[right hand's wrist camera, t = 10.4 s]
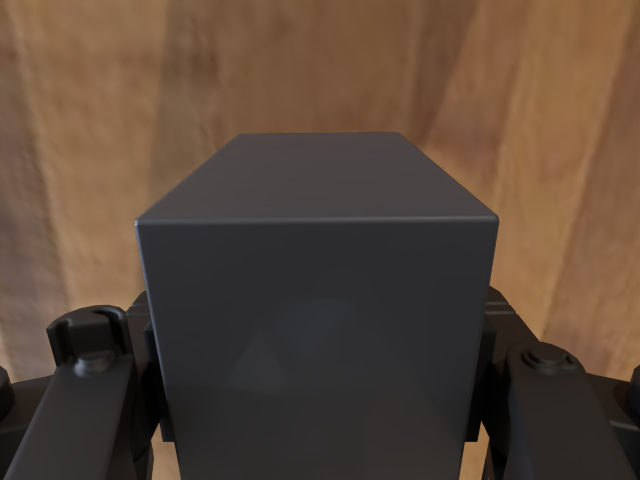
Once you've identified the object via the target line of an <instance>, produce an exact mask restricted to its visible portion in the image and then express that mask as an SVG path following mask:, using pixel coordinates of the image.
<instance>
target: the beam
mask: <svg viewBox="0 0 640 480" xmlns="http://www.w3.org/2000/svg"><path fill="white" fill-rule="evenodd" d="M498 226H499V218H498V216H497V215H496V214H495V213H494V212H493V211H491V210H490V209H489V208H488V207H487V206H485V205H484V204H483V203H482V202H481V201H479V200H478V199H477V198H476V197H475V196H474V195H472V194H471V193H470V192H469V191H468V190H466V189H465V188H464V187H463V186H462V185H460V184H459V183H458V182H457V181H456V180H455V179H453V178H452V177H451V176H450V175H449V174H447V173H446V172H445V171H444V170H443V169H441V168H440V167H439V166H438V165H437V164H436V163H434V162H433V161H432V160H431V159H430V158H428V157H427V156H426V155H425V154H424V153H422V152H421V151H420V150H419V149H418V148H417V147H415V146H414V145H413V144H412V143H411V142H409V141H408V140H407V139H406V138H405V137H403V136H402V135H401V134H400V133H398V132H366V133H270V134H238V135H237V136H236V137H234V138H233V139H232V140H231V141H230V142H228V143H227V144H226V145H225V146H224V147H222V148H221V149H220V150H219V151H217V152H216V153H215V154H214V155H213V156H211V157H210V158H209V159H208V160H207V161H205V162H204V163H203V164H202V165H201V166H199V167H198V168H197V169H196V170H195V171H193V172H192V173H191V174H190V175H189V176H187V177H186V178H185V179H184V180H183V181H181V182H180V183H179V184H178V185H176V186H175V187H174V188H173V189H172V190H170V191H169V192H168V193H167V194H166V195H164V196H163V197H162V198H161V199H160V200H158V201H157V202H156V203H155V204H154V205H152V206H151V207H150V208H149V209H148V210H146V211H145V212H144V213H143V214H141V215H140V216H139V217H138V218H137V219H136V220H135V224H134V227H135V232H136V238H137V243H138V248H139V254H140V259H141V265H142V270H143V275H144V281H145V286H146V292H147V297H148V302H149V308H150V313H151V319H152V324H153V330H154V335H155V340H156V346H157V351H158V357H159V362H160V367H161V373H162V378H163V384H164V389H165V394H166V400H167V405H168V411H169V416H170V422H171V427H172V432H173V438H174V443H175V449H176V454H177V459H178V465H179V470H180V476H181V480H459V476H460V469H461V463H462V457H463V450H464V444H465V437H466V431H467V425H468V418H469V412H470V405H471V399H472V393H473V386H474V380H475V373H476V367H477V361H478V354H479V348H480V342H481V335H482V329H483V322H484V316H485V310H486V303H487V297H488V290H489V284H490V278H491V271H492V265H493V258H494V252H495V246H496V239H497V233H498Z"/></svg>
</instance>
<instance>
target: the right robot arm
mask: <svg viewBox="0 0 640 480" xmlns="http://www.w3.org/2000/svg"><path fill="white" fill-rule="evenodd" d="M46 331H47V334H48V338H49V341H50V345H51V348H52V352H53V356H54V359H55V363H56V366H57V368H56V370H55V372H54V374H53V375H51V376H47V377H42V378H37V379H32V380H27V381H22V382H17V383H12V384H11V382H10V379H9V376H8V373H7V371H6V370H5V369H4V368H2V367H1V366H0V480H151V479H152V471H153V462H154V455H153V448H152V443H151V439H152V437H153V434H154V432H155V430H156V428H157V426H158V423H160V428H161V434H162V439H163V442H174V438H173V432H172V427H171V422H170V416H169V411H168V405H167V400H166V394H165V389H164V384H163V378H162V373H161V367H160V362H159V357H158V351H157V346H156V340H155V335H154V330H153V324H152V319H151V313H150V308H149V302H148V297H147V292H146V290H145V291H144V292H142V293H141V294H140V295H139V296H138V298H137V299H136V300H135V301H134V303H133V304H132V307H130V308H129V309H128V310H127V311H126V312H125V311H124V310H122V309H121V308H120V307H116V306H111V305H95V306H90V307H85V308H80V309H77V310H75V311H72V312H69V313H67V314H65V315H63V316H61V317H59V318H58V319H56V320H54V321H53V322H52V323H51V324H50V325H49V326H48V327H47V329H46ZM481 421H482V423H483V425H484V427H485V429H486V432H487V434H488V436H489V443H488V448H487V453H486V459H485V464H484V469H483V474H482V480H488V478H489V480H640V365H639V366H637V367H636V368H635V369H634V371H633V374H632V377H631V380H630V382H627V381H622V380H617V379H612V378H607V377H602V376H597V375H593V374H589V373H586V371H585V369H584V367H583V366H582V364H581V363H580V362H579V361H578V359H577V358H576V357H574V356H573V355H571V354H570V353H569V352H567V351H566V350H564V349H561V348H559V347H557V346H554V345H552V344H549V343H544V342H540V341H539V340H538V339H537V338H536V337H535V335H534V334H533V333H532V332H531V330H530V329H529V328H528V327H527V325H526V324H525V323H524V322H523V320H522V319H521V318H520V317H519V315H518V314H516V312H515V310H514V309H513V308H512V307H511V305H509V304H508V302H507V300H506V299H505V298H504V297H503V295H502V294H501V293H500V292H499V291H498V290H496V289H494V288H493V287H491V286H489V290H488V297H487V303H486V310H485V316H484V322H483V329H482V335H481V342H480V348H479V354H478V361H477V367H476V373H475V380H474V386H473V393H472V399H471V405H470V412H469V418H468V425H467V431H466V437H465V442H477V441H478V436H479V430H480V425H481Z"/></svg>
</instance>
